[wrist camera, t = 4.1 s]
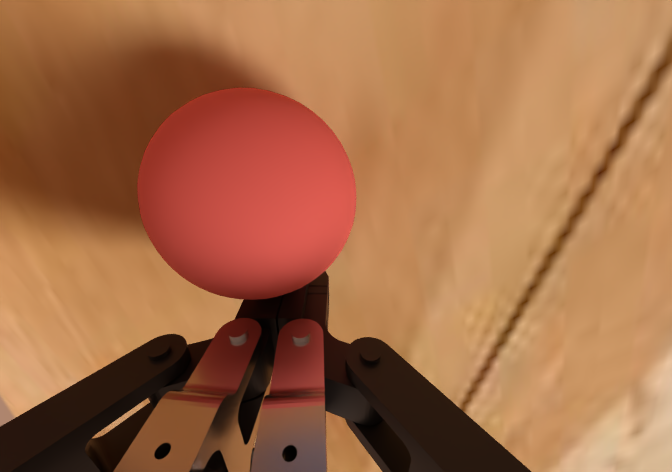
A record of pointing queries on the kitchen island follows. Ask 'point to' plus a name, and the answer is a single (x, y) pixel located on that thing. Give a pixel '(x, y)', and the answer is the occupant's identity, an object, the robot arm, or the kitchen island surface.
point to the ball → (246, 193)
